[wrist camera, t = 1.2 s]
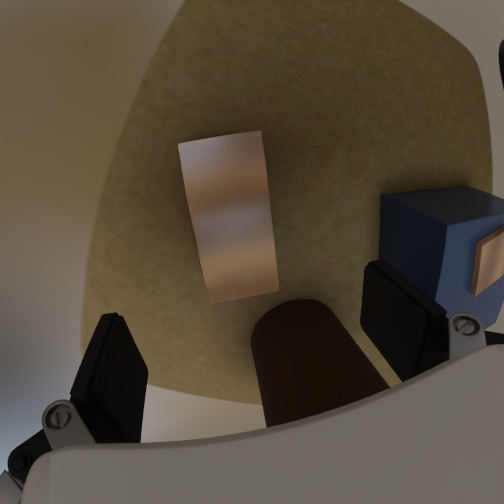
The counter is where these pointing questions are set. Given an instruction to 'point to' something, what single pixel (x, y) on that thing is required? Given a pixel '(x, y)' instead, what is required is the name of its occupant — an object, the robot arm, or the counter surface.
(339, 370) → the olive oil
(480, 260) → the coaster
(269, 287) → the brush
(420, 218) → the blue drawer box
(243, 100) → the counter surface
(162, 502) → the robot arm
